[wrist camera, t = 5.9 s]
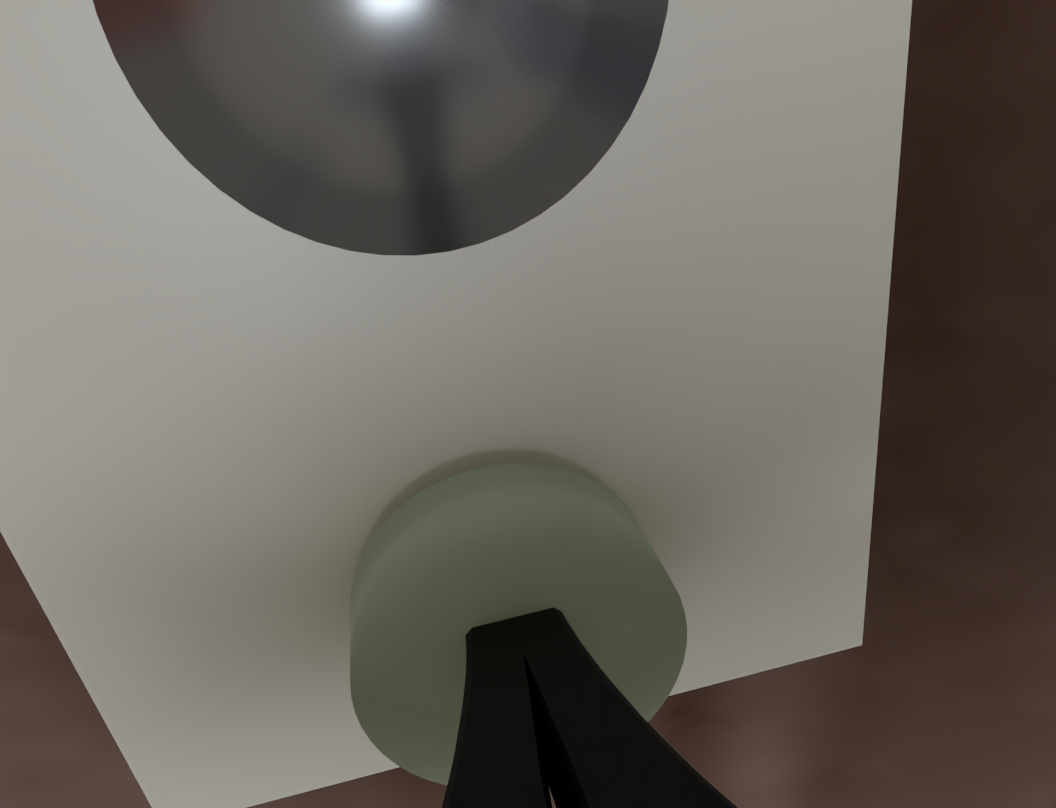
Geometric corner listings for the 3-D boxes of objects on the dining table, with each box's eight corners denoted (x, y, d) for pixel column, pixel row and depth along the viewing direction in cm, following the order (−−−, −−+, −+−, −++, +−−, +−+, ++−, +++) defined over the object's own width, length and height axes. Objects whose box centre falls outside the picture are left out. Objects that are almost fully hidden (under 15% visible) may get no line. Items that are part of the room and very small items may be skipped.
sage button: (638, 431, 12) (679, 489, 11) (658, 667, 14) (694, 741, 13) (314, 504, 12) (308, 576, 10) (388, 737, 14) (392, 824, 12)
